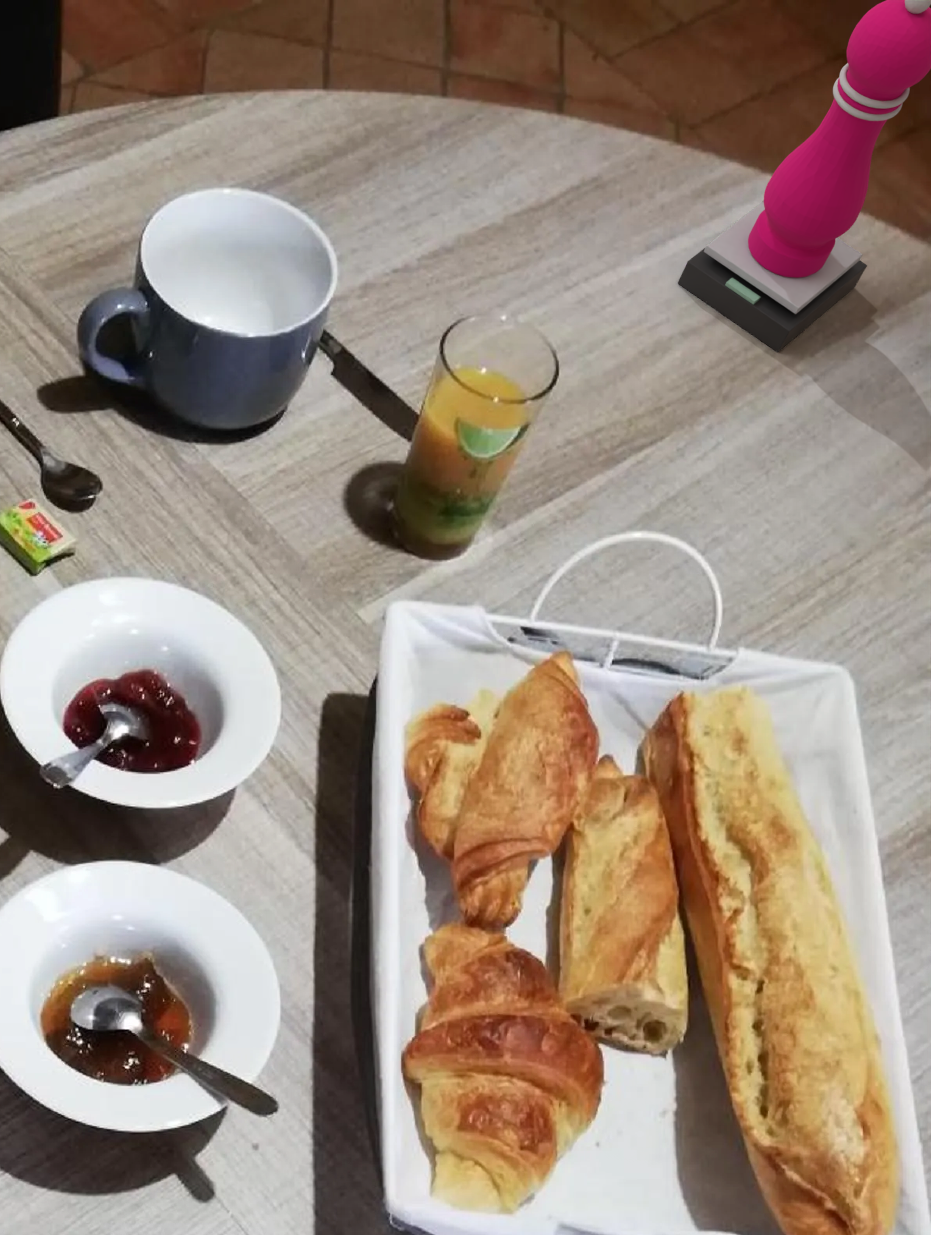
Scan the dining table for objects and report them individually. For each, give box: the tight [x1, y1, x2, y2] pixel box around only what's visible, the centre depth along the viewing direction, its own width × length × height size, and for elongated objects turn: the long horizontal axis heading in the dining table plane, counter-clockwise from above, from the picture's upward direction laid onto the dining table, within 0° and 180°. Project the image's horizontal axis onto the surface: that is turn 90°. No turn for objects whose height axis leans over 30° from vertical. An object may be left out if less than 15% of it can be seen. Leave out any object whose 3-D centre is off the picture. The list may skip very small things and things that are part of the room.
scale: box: [677, 199, 868, 353], centre depth 131 cm, size 10×11×3 cm
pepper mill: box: [748, 0, 931, 278], centre depth 120 cm, size 7×7×20 cm
